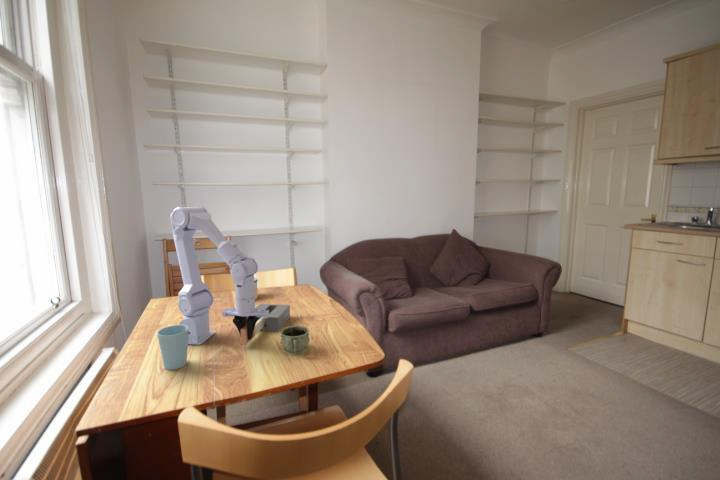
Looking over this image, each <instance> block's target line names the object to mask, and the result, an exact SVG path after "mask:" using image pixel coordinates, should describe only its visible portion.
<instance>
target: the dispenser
mask: <svg viewBox="0 0 720 480" xmlns="http://www.w3.org/2000/svg"><path fill="white" fill-rule="evenodd" d="M255 308H257V309H262V310H269V317H268V318H266V325H265V326H264V327H263V328H262V329H261V330H260V331H264V332H266V331H267V332H279V331H281V330H282V327H284V325H285V324H286V323H287V321H288V320H289V319H290V317H291V305H290V304H275V303H274V304H273V303H271V304H270V303H259V304H258V305H257V306H255ZM247 318H248V317H246V319H247ZM260 318H261V317H259V318H258V320H259V319H260ZM258 320H257V321H258Z"/></svg>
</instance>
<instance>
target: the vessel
mask: <svg viewBox="0 0 720 480" xmlns="http://www.w3.org/2000/svg"><path fill="white" fill-rule="evenodd" d="M309 331H310V330H309V328H308V327H306V326H303V325H289V326H287V327H284V328H281V329H280V334H281V335H280V337H281V340H280V344H281V346H282V347H283V349H282V351H283V353H284V354H285V355H290V356H298V355H301V354H304V353H306V352H307V351H308V346H309V343H310V336H309V335H310V333H309Z"/></svg>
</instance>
